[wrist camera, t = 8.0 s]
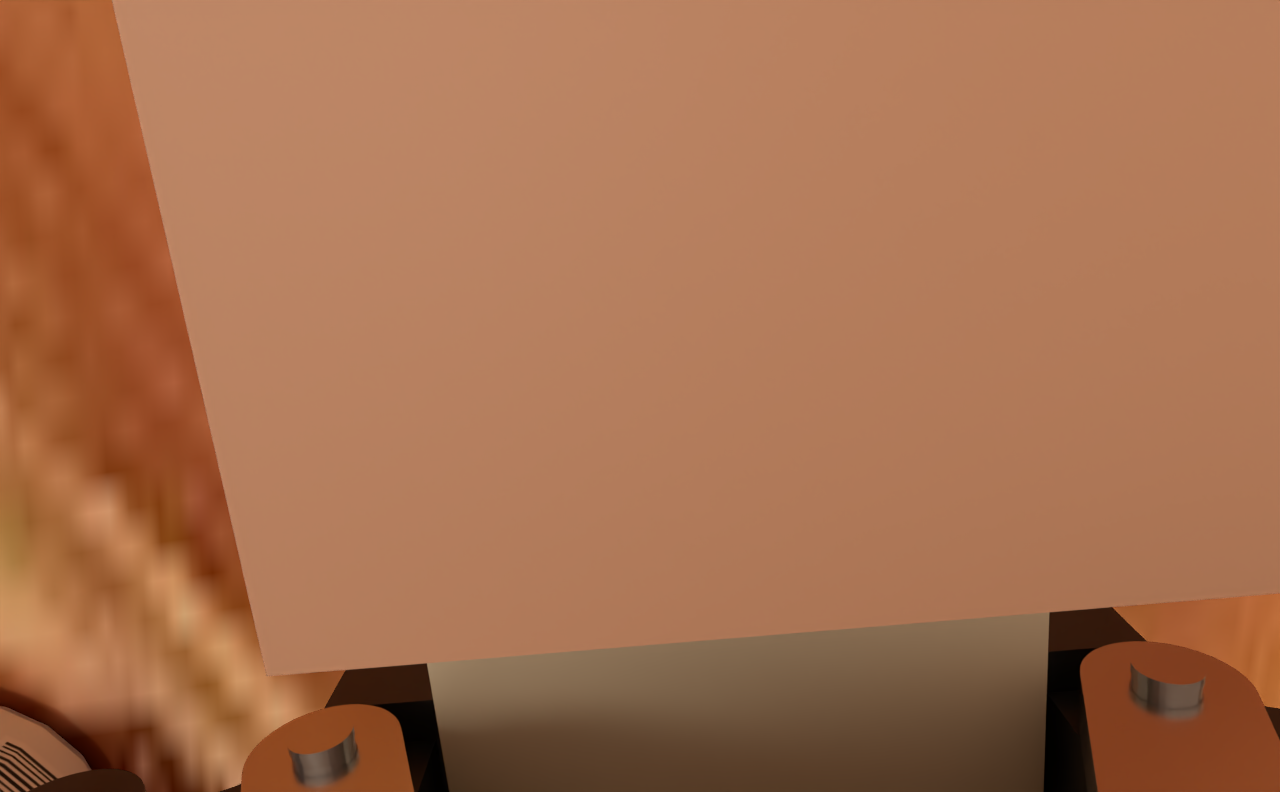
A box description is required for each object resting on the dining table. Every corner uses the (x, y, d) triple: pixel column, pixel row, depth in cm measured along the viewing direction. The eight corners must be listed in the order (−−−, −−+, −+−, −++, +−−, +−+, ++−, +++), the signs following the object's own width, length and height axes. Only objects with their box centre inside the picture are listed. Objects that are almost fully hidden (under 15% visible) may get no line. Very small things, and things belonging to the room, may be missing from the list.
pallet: (402, -275, 9) (72, -855, 4) (882, -326, 9) (1229, -998, 4) (599, 1142, 15) (576, 1734, 9) (906, 1122, 15) (1067, 1708, 9)
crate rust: (392, -256, 6) (-152, -1141, 2) (1044, -327, 6) (1981, -1415, 2) (482, 368, 7) (266, 676, 3) (1028, 320, 7) (1582, 569, 3)
